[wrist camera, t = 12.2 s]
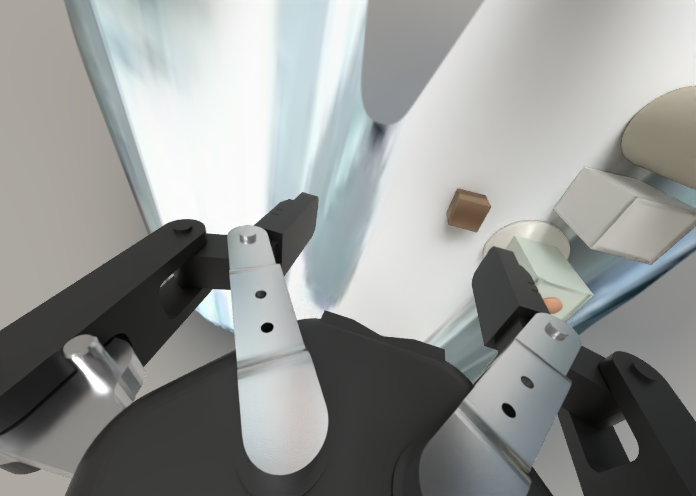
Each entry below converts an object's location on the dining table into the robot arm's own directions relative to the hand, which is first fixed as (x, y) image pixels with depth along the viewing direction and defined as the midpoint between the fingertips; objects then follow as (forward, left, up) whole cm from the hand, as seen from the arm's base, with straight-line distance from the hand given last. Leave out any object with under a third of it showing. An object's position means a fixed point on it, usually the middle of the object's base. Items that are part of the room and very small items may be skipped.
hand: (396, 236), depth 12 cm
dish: (+13, +21, -28) cm, 37 cm away
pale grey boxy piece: (+13, +21, -27) cm, 37 cm away
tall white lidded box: (+3, +24, -28) cm, 37 cm away
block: (+8, +10, -28) cm, 31 cm away
